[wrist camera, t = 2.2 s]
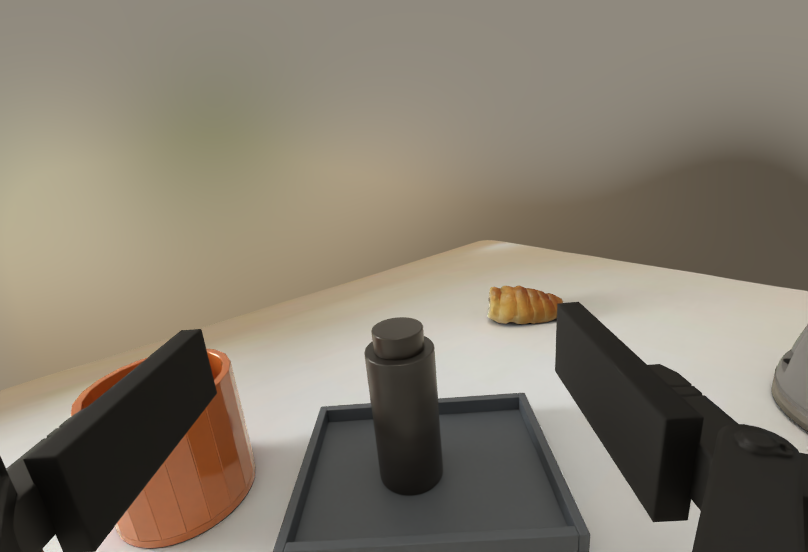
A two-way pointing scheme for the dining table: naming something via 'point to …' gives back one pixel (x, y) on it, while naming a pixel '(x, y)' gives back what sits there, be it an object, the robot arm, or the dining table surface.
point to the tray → (446, 502)
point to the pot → (190, 467)
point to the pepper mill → (405, 406)
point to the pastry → (521, 305)
